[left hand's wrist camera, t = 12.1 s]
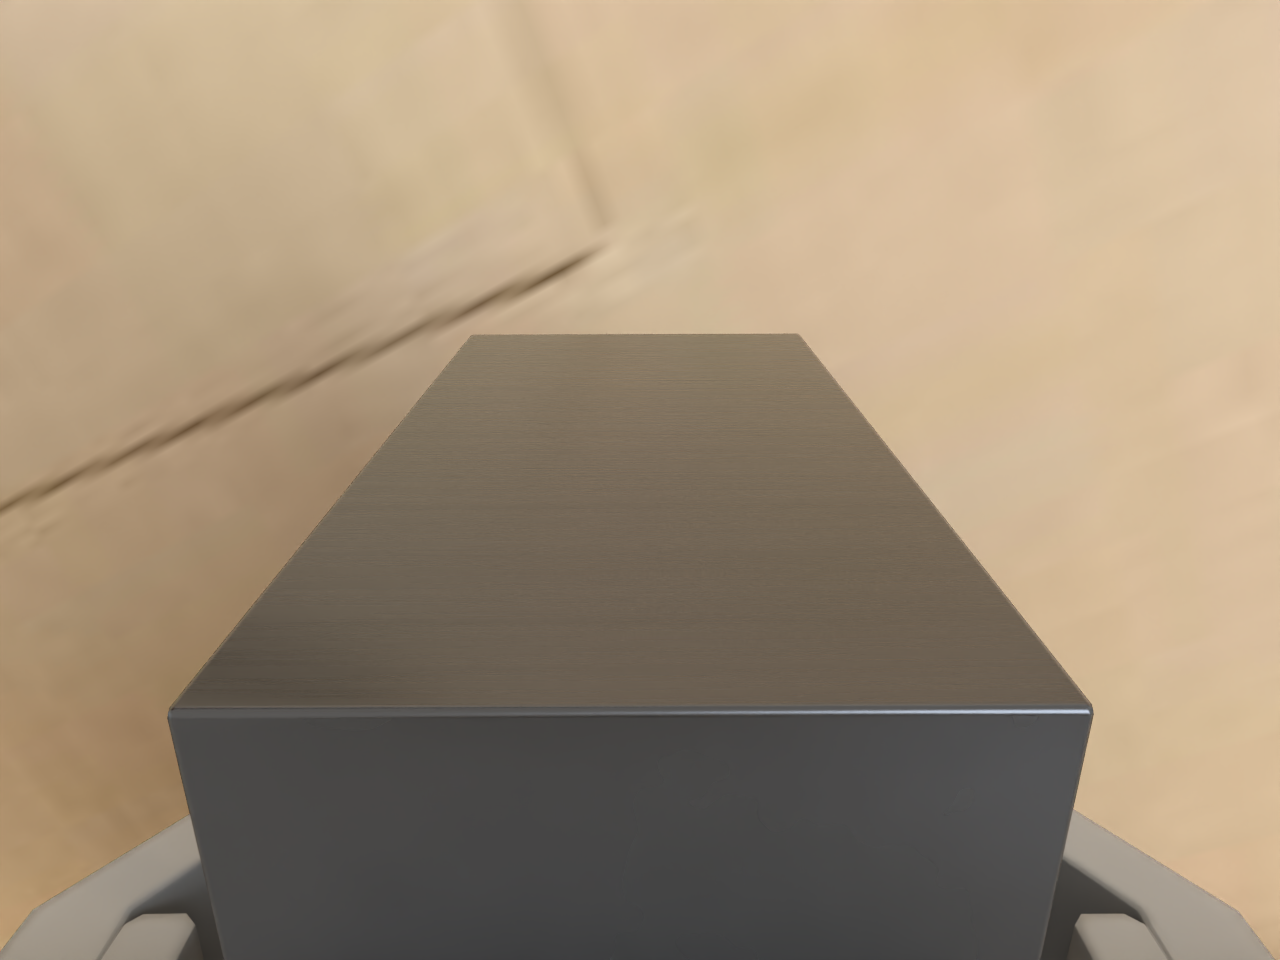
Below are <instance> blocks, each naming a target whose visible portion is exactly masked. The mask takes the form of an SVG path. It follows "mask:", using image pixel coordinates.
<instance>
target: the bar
mask: <svg viewBox="0 0 1280 960" xmlns="http://www.w3.org/2000/svg"><path fill="white" fill-rule="evenodd" d="M1093 715H1094V714H1093V708H1092V704H1091V703H1090V702H1089V700H1088V699H1087V698H1086V697H1085V695H1084V694H1083V693H1082V691H1081V690H1080V689H1079V688H1078V686H1077V685H1076V684H1075V683H1074V681H1073V680H1072V679H1071V678H1070V676H1069V675H1068V674H1067V673H1066V671H1065V670H1064V669H1063V667H1062V666H1061V665H1060V664H1059V662H1058V661H1057V660H1056V659H1055V657H1054V656H1053V655H1052V654H1051V652H1050V651H1049V650H1048V649H1047V647H1046V646H1045V645H1044V643H1043V642H1042V641H1041V640H1040V638H1039V637H1038V636H1037V635H1036V633H1035V632H1034V631H1033V630H1032V628H1031V627H1030V626H1029V624H1028V623H1027V622H1026V621H1025V619H1024V618H1023V617H1022V616H1021V614H1020V613H1019V612H1018V611H1017V609H1016V608H1015V607H1014V606H1013V604H1012V603H1011V602H1010V600H1009V599H1008V598H1007V597H1006V595H1005V594H1004V593H1003V592H1002V590H1001V589H1000V588H999V587H998V585H997V584H996V583H995V581H994V580H993V579H992V578H991V576H990V575H989V574H988V573H987V571H986V570H985V569H984V568H983V566H982V565H981V564H980V563H979V561H978V560H977V559H976V557H975V556H974V555H973V554H972V552H971V551H970V550H969V549H968V547H967V546H966V545H965V544H964V542H963V541H962V540H961V538H960V537H959V536H958V535H957V533H956V532H955V531H954V530H953V528H952V527H951V526H950V525H949V523H948V522H947V521H946V520H945V518H944V517H943V516H942V514H941V513H940V512H939V511H938V509H937V508H936V507H935V506H934V504H933V503H932V502H931V501H930V499H929V498H928V497H927V496H926V494H925V493H924V492H923V490H922V489H921V488H920V487H919V485H918V484H917V483H916V482H915V480H914V479H913V478H912V477H911V475H910V474H909V473H908V471H907V470H906V469H905V468H904V466H903V465H902V464H901V463H900V461H899V460H898V459H897V458H896V456H895V455H894V454H893V453H892V451H891V450H890V449H889V447H888V446H887V445H886V444H885V442H884V441H883V440H882V439H881V437H880V436H879V435H878V434H877V432H876V431H875V430H874V428H873V427H872V426H871V425H870V423H869V422H868V421H867V420H866V418H865V417H864V416H863V415H862V413H861V412H860V411H859V410H858V408H857V407H856V406H855V404H854V403H853V402H852V401H851V399H850V398H849V397H848V396H847V394H846V393H845V392H844V391H843V389H842V388H841V387H840V386H839V384H838V383H837V382H836V380H835V379H834V378H833V377H832V375H831V374H830V373H829V372H828V370H827V369H826V368H825V367H824V365H823V364H822V363H821V361H820V360H819V359H818V358H817V356H816V355H815V354H814V353H813V351H812V350H811V349H810V348H809V346H808V345H807V344H806V343H805V341H804V340H803V339H802V337H801V336H800V335H799V334H600V335H472V336H470V338H469V339H468V340H467V341H466V342H465V344H464V345H463V346H462V347H461V349H460V350H459V351H458V352H457V354H456V355H455V356H454V357H453V359H452V360H451V361H450V362H449V363H448V365H447V366H446V367H445V368H444V370H443V371H442V372H441V373H440V375H439V376H438V377H437V378H436V380H435V381H434V382H433V383H432V384H431V386H430V387H429V388H428V389H427V391H426V392H425V393H424V394H423V396H422V397H421V398H420V399H419V401H418V402H417V403H416V404H415V405H414V407H413V408H412V409H411V410H410V412H409V413H408V414H407V415H406V417H405V418H404V419H403V420H402V422H401V423H400V424H399V425H398V426H397V428H396V429H395V430H394V431H393V433H392V434H391V435H390V436H389V438H388V439H387V440H386V441H385V442H384V444H383V445H382V446H381V447H380V449H379V450H378V451H377V452H376V454H375V455H374V456H373V457H372V459H371V460H370V461H369V462H368V463H367V465H366V466H365V467H364V468H363V470H362V471H361V472H360V473H359V475H358V476H357V477H356V478H355V480H354V481H353V482H352V483H351V484H350V486H349V487H348V488H347V489H346V491H345V492H344V493H343V494H342V496H341V497H340V498H339V499H338V501H337V502H336V503H335V504H334V505H333V507H332V508H331V509H330V510H329V512H328V513H327V514H326V515H325V517H324V518H323V519H322V520H321V522H320V523H319V524H318V525H317V526H316V528H315V529H314V530H313V531H312V533H311V534H310V535H309V536H308V538H307V539H306V540H305V541H304V542H303V544H302V545H301V546H300V547H299V549H298V550H297V551H296V552H295V554H294V555H293V556H292V557H291V559H290V560H289V561H288V562H287V563H286V565H285V566H284V567H283V568H282V570H281V571H280V572H279V573H278V575H277V576H276V577H275V578H274V580H273V581H272V582H271V583H270V584H269V586H268V587H267V588H266V589H265V591H264V592H263V593H262V594H261V596H260V597H259V598H258V599H257V601H256V602H255V603H254V604H253V605H252V607H251V608H250V609H249V610H248V612H247V613H246V614H245V615H244V617H243V618H242V619H241V620H240V622H239V623H238V624H237V625H236V626H235V628H234V629H233V630H232V631H231V633H230V634H229V635H228V636H227V638H226V639H225V640H224V641H223V642H222V644H221V645H220V646H219V647H218V649H217V650H216V651H215V652H214V654H213V655H212V656H211V657H210V659H209V660H208V661H207V662H206V663H205V665H204V666H203V667H202V668H201V670H200V671H199V672H198V673H197V675H196V676H195V677H194V678H193V680H192V681H191V682H190V683H189V684H188V686H187V687H186V688H185V689H184V691H183V692H182V693H181V694H180V696H179V697H178V698H177V699H176V701H175V702H174V703H173V704H172V705H171V707H170V708H169V712H168V723H169V727H170V731H171V735H172V740H173V744H174V748H175V753H176V757H177V761H178V765H179V770H180V774H181V778H182V783H183V787H184V791H185V795H186V800H187V804H188V808H189V813H190V817H191V821H192V825H193V830H194V834H195V838H196V843H197V847H198V851H199V855H200V860H201V864H202V868H203V873H204V877H205V881H206V885H207V890H208V894H209V898H210V903H211V907H212V911H213V915H214V920H215V924H216V928H217V933H218V937H219V941H220V945H221V950H222V954H223V958H224V960H1040V959H1041V955H1042V950H1043V945H1044V941H1045V936H1046V932H1047V927H1048V922H1049V918H1050V913H1051V909H1052V904H1053V899H1054V895H1055V890H1056V885H1057V881H1058V876H1059V872H1060V867H1061V862H1062V858H1063V853H1064V849H1065V844H1066V839H1067V835H1068V830H1069V825H1070V821H1071V816H1072V812H1073V807H1074V802H1075V798H1076V793H1077V789H1078V784H1079V779H1080V775H1081V770H1082V765H1083V761H1084V756H1085V752H1086V747H1087V742H1088V738H1089V733H1090V728H1091V724H1092V719H1093Z"/></svg>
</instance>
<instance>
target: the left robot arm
mask: <svg viewBox="0 0 1280 960" xmlns="http://www.w3.org/2000/svg"><path fill="white" fill-rule="evenodd" d="M0 960H224V958H223V954H222V950H221V945H220V941H219V937H218V933H217V928H216V924H215V920H214V915H213V911H212V907H211V903H210V898H209V894H208V890H207V885H206V881H205V877H204V873H203V868H202V864H201V860H200V855H199V851H198V847H197V843H196V838H195V834H194V830H193V825H192V821H191V817H190V814H189V815H187V816H186V817H184V818H182V819H181V820H179V821H177V822H176V823H174V824H173V825H171V826H169V827H168V828H166V829H164V830H163V831H161V832H159V833H158V834H156V835H155V836H153V837H151V838H150V839H148V840H146V841H145V842H143V843H141V844H140V845H138V846H136V847H135V848H133V849H132V850H130V851H128V852H127V853H125V854H123V855H122V856H120V857H118V858H117V859H115V860H114V861H112V862H110V863H109V864H107V865H105V866H104V867H102V868H100V869H99V870H97V871H96V872H94V873H92V874H91V875H89V876H87V877H86V878H84V879H82V880H81V881H79V882H77V883H76V884H74V885H73V886H71V887H69V888H68V889H66V890H64V891H63V892H61V893H59V894H58V895H56V896H55V897H53V898H51V899H50V900H48V901H46V902H45V903H43V904H41V905H40V906H38V907H37V908H35V909H33V910H32V911H31V913H30V914H29V915H28V917H27V918H26V919H25V920H24V922H23V923H22V924H21V926H20V927H19V928H18V929H17V931H16V932H15V933H14V935H13V936H12V937H11V938H10V940H9V941H8V942H7V944H6V945H5V946H4V947H3V949H2V950H1V951H0ZM1040 960H1275V959H1274V958H1273V956H1272V955H1271V954H1270V952H1269V951H1268V950H1267V948H1266V947H1265V946H1264V944H1263V943H1262V942H1261V940H1260V939H1259V938H1258V936H1257V935H1256V934H1255V933H1254V931H1253V930H1252V929H1251V927H1250V926H1249V925H1248V923H1247V922H1246V921H1245V919H1244V918H1243V917H1242V915H1241V914H1240V913H1239V911H1237V910H1236V909H1234V908H1232V907H1231V906H1229V905H1227V904H1226V903H1224V902H1223V901H1221V900H1219V899H1218V898H1216V897H1214V896H1213V895H1211V894H1210V893H1208V892H1206V891H1205V890H1203V889H1202V888H1200V887H1198V886H1197V885H1195V884H1193V883H1192V882H1190V881H1189V880H1187V879H1185V878H1184V877H1182V876H1181V875H1179V874H1177V873H1176V872H1174V871H1172V870H1171V869H1169V868H1168V867H1166V866H1164V865H1163V864H1161V863H1159V862H1158V861H1156V860H1155V859H1153V858H1151V857H1150V856H1148V855H1147V854H1145V853H1143V852H1142V851H1140V850H1138V849H1137V848H1135V847H1134V846H1132V845H1130V844H1129V843H1127V842H1126V841H1124V840H1122V839H1121V838H1119V837H1117V836H1116V835H1114V834H1113V833H1111V832H1109V831H1108V830H1106V829H1104V828H1103V827H1101V826H1100V825H1098V824H1096V823H1095V822H1093V821H1092V820H1090V819H1088V818H1087V817H1085V816H1083V815H1082V814H1080V813H1079V812H1077V811H1075V810H1074V809H1073V812H1072V816H1071V821H1070V825H1069V830H1068V835H1067V839H1066V844H1065V849H1064V853H1063V858H1062V862H1061V867H1060V872H1059V876H1058V881H1057V885H1056V890H1055V895H1054V899H1053V904H1052V909H1051V913H1050V918H1049V922H1048V927H1047V932H1046V936H1045V941H1044V945H1043V950H1042V955H1041V959H1040Z"/></svg>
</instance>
